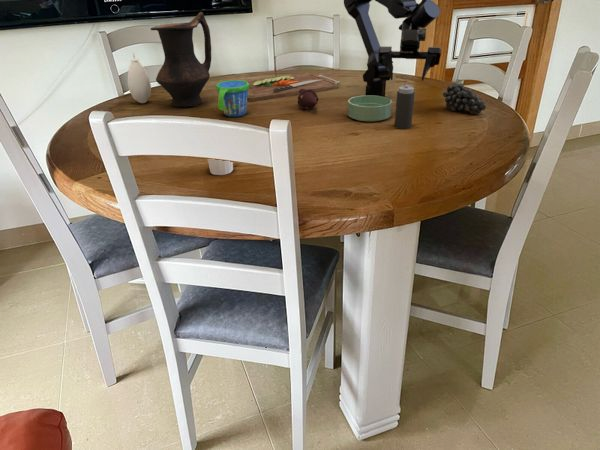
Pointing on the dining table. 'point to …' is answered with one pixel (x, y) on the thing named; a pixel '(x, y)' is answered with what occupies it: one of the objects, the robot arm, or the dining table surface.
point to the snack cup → (233, 97)
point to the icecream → (307, 99)
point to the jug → (183, 62)
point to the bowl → (369, 108)
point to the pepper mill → (404, 107)
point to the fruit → (463, 99)
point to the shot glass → (220, 167)
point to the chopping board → (288, 85)
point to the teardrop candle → (138, 81)
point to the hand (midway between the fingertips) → (407, 79)
